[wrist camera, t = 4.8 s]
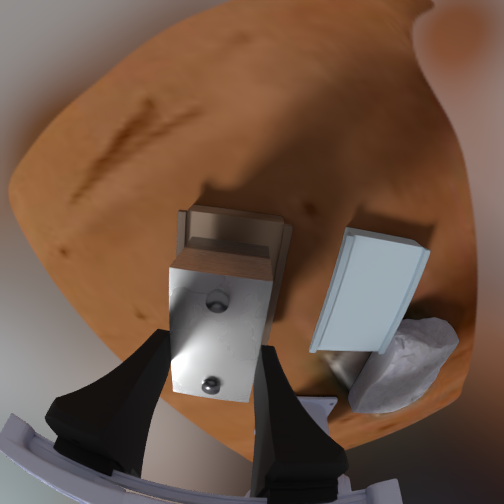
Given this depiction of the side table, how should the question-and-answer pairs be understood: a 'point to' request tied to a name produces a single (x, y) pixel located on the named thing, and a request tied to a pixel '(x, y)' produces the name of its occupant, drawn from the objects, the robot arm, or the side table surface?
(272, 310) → the walnut stand
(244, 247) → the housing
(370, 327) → the bluegrey stand
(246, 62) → the side table surface
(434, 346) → the stone block
